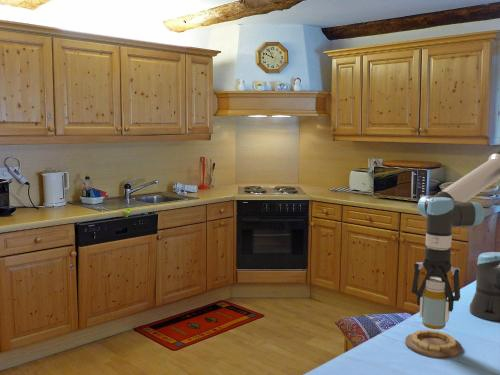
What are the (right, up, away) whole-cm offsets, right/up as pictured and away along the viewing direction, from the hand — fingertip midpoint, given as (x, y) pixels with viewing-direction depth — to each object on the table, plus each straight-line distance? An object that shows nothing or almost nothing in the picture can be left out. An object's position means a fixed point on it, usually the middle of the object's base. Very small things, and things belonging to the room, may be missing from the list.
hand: (434, 318), depth 167 cm
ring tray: (0, -9, +1) cm, 9 cm away
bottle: (0, -3, 0) cm, 3 cm away
